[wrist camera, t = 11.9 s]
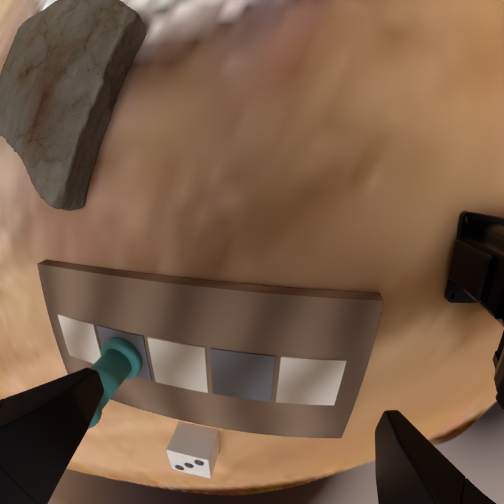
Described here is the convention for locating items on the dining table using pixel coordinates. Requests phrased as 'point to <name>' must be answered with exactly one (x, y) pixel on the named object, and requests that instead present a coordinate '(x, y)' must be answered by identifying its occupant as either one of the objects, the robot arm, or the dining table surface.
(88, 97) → the marble piece
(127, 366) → the pawn
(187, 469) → the die
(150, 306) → the board
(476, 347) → the dining table surface
